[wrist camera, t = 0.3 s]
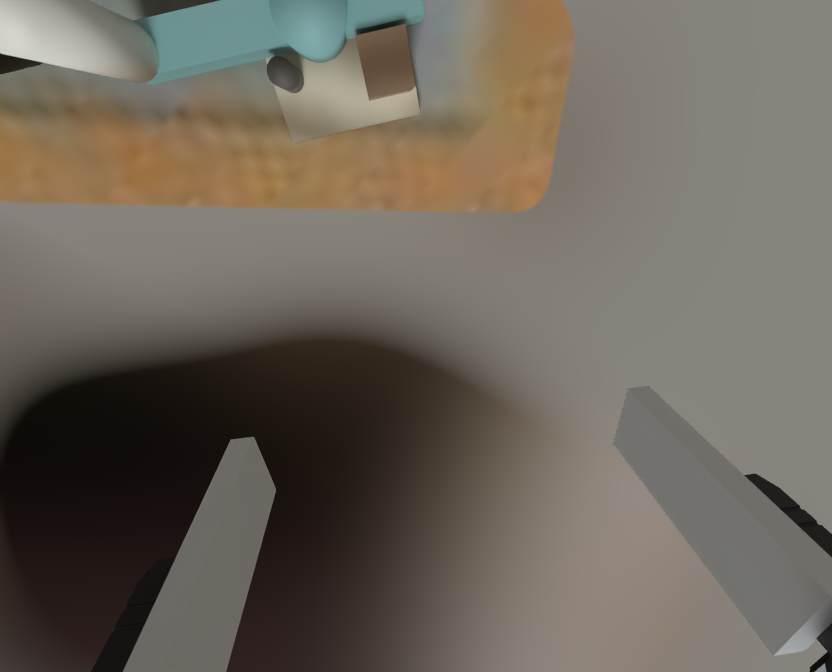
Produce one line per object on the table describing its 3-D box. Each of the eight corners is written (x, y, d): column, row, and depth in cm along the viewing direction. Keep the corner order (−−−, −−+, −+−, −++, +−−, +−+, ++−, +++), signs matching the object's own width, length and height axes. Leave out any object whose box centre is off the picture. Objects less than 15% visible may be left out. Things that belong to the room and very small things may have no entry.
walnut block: (357, 47, 28) (354, 35, 24) (401, 37, 28) (405, 23, 24) (369, 100, 30) (368, 96, 26) (410, 91, 30) (415, 85, 26)
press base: (221, -87, 25) (187, -135, 20) (379, -125, 24) (380, -181, 20) (295, 142, 31) (282, 144, 27) (419, 114, 31) (425, 111, 27)
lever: (110, 22, 25) (-102, -68, 14) (410, -49, 25) (438, -197, 14) (149, 103, 27) (-6, 82, 16) (423, 39, 27) (456, -26, 16)
